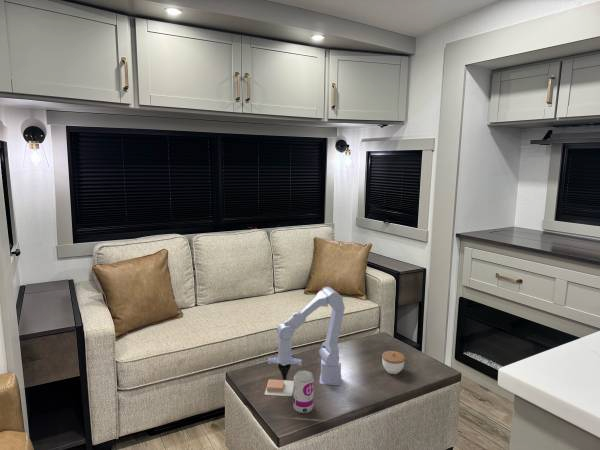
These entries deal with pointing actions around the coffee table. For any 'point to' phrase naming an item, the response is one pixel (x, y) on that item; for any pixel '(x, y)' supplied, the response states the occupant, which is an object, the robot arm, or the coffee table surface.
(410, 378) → the coffee table surface
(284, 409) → the coffee table surface
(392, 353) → the lidded jar
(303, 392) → the supplement can
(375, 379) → the coffee table surface
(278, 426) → the coffee table surface
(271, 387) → the tile
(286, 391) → the mat
